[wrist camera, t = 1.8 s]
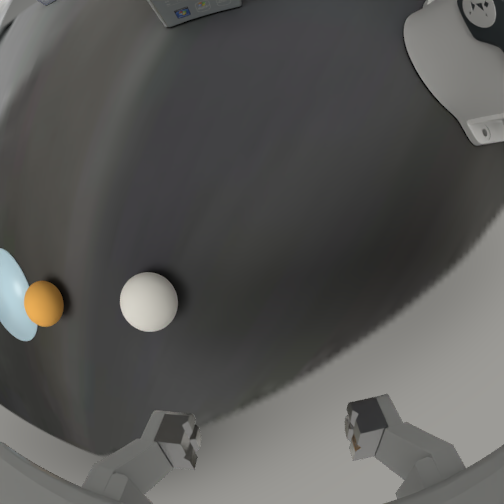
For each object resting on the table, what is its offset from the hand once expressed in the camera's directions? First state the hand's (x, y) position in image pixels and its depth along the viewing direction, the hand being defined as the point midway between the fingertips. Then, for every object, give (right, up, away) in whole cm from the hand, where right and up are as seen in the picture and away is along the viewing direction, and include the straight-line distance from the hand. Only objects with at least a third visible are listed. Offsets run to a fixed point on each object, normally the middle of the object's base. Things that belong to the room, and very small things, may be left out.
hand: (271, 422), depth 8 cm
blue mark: (-35, 0, +17) cm, 39 cm away
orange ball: (-23, +1, +14) cm, 27 cm away
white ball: (-9, +2, +13) cm, 16 cm away
